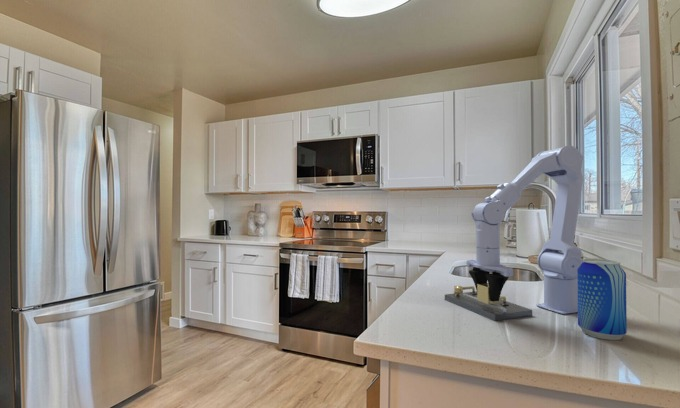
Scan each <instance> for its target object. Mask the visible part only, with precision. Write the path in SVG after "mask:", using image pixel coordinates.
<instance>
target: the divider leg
mask: <svg viewBox="0 0 680 408" xmlns="http://www.w3.org/2000/svg"><path fill="white" fill-rule="evenodd" d="M476 291H477V300H478V301H481V302H483V303H486V304H496V303H499V301H494V302H492V301H491V300H490V290H489V284H488V282H487V283H482V284H477V290H476ZM499 300H503V303H505V304H506V301H507V299H506V296H504V295H502V296H501V295H500V298H499Z"/></svg>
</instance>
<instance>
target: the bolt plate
mask: <svg viewBox="0 0 680 408" xmlns="http://www.w3.org/2000/svg"><path fill="white" fill-rule="evenodd" d="M453 289H454V290H453V293H445V294H444V300H445V301H447V302H449V303H452V304H454V305H456V306H459V307H461V308H463V309H466V310H468V311H471V312H473V313H476V314H477V315H480V316H482V317H485V318H487V319H490V320H492V321H493V322H499V321H505V320H512V319H518V318H520V319H521V318H526V317H527V318H528V317H532V316H533V310H532V309H531V308H528V307H524V306H521V305H520V304H519V305H518V304H516V303H514V302H510V301H507V300H506V304H505V303H503V299H502V300H499V303H496V304H486V303H483V302H481V301H478V300H477V290H476V287H475V285H473V286H472V285H471V286H461V285H455V286H454V287H453ZM464 290H472V291H467V292H465V291H464Z"/></svg>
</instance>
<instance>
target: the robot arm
mask: <svg viewBox="0 0 680 408" xmlns="http://www.w3.org/2000/svg"><path fill="white" fill-rule="evenodd" d="M583 160H584V156H583V155H582V153H581V152H580V151H579V150H578V148H577V147H575V146H573V145H564V146H561V147H558V148H553V149H549V150H542V151H540V152H539V153H538V154H536V155H535V156H534V157H532V158H531V161H530V162H529V163H528V165H526V166H525V167H524V168H523V169H522V170H521V172H520V173H519V174H518V175H517V176H516V177H515V178H514V179H513V180H512V181H511V182H504V183H500V184H498V185H497V186H496V190H495V191H494V192H493V193H491V194H490V196H486V197H485V198H484V202H479V203H477V204H476V205H475V207H474V208H473V210H472V211H473V212H471V218H472V220H473V221H474V223H475V232H476V233H475V235H476V237H475V241H476V242H475V243H476V244H475V245H476V246H475V247H476V248H475V249H476V252H475V253H476V256H475V257H476V258H475V259H467V260H466V268H472V269H470V270H468V274H469V275H470V277H471V278H472V281H473V283H474V288H475V291H477V284H482V283H488V284H489V290H490V300H491V301H492V302H494V301H499V298H500V296H501V295H502V291H503V288H504V286H505V284H506V282H507V281H508V279H509V278H510V277H513V276H514V269H513V268H511V267H508V266H506V265H503V264H501V261H500V260H501V255H500V254H501V245H500V243H501V242H500V240H501V237H500V235H501V233H500V232H501V230H500V223H501V222H503V221H504V219H505V217H506V212H507V211H508V210H510V208H512V206H514V205H515V204H517V202H518V201H519V200H520V199H521V198H522V191H523V190H524V189H526V188H527V187H528V186H529V185H531V183H533V182H534V181H536V180H537V179H538V178H539V177H540V176H541V175H545V176H546V177H548V178H550V179H551V180H553V181H554V182H555V183H556V184H557V190H556V197H555V203H554V209H553V217H552V223H551V231H550V236H549V239H548V240H547V241H546V242H545V243H544V244H542V246H541V247H542V248H541V251H540V252H539V254H538V256H537V259H536V261H537V262H536V263H537V266H538V268H539V269H540V270H541V273H542V274H543V302H542V303H536V305H535V306H537V307H538V308H541V309H546V310H547V311H548V310H549V311H552V312H555V313H557V314H560V315H566V314H574V313H578V279H577V270H578V268H579V266H580V265H581V264H582V263H583V261H582V260H583V259H582V253H583V252H582V250H581V249H580V248H579V247H578V246H577V245H576V244H575V237H576V229H577V224H578V215H579V209H580V203H581V197H582V196H581V195H582V190H583V189H582V187H583V181H584V177H583V173H582V172H583V171H582V168H583V166H582V165H583Z"/></svg>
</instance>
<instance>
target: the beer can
mask: <svg viewBox="0 0 680 408" xmlns="http://www.w3.org/2000/svg"><path fill="white" fill-rule="evenodd" d="M581 260H582V264H581V265H580V266H579V268H578V270H577V279H578V312H577V326H579V328H580V329H581V332H583V333H584V334H585V335H588V336H590V337H593V338H597V339H602V340H608V341H618V340H622V339H623V338H624V336H625V335H626V334H627V333H628V332H627V331H628V329H627V328H628V327H627V325H628V324H627V320H628V319H627V316H628V315H627V273H626V272H625V269H623V268H622V266H621V262H620V261H617V260H610V259H603V258H602V259H601V258H599V259H598V258H583V259H581Z"/></svg>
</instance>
